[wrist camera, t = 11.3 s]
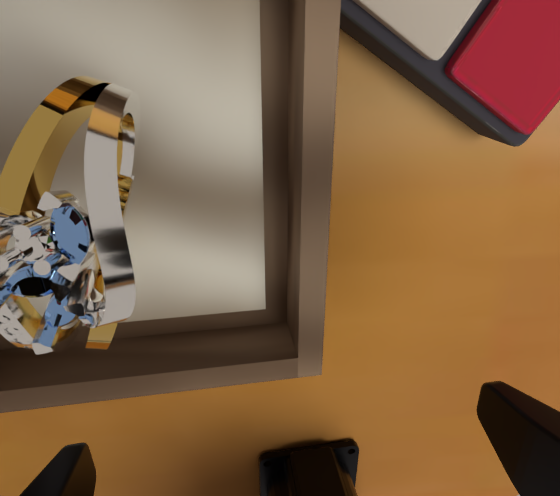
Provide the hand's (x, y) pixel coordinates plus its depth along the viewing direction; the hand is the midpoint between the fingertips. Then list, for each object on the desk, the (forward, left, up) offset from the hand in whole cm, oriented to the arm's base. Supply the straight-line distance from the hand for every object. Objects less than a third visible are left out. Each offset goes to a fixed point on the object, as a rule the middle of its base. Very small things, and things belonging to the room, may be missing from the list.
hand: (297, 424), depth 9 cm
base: (+4, +5, -12) cm, 13 cm away
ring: (+4, +5, -9) cm, 10 cm away
